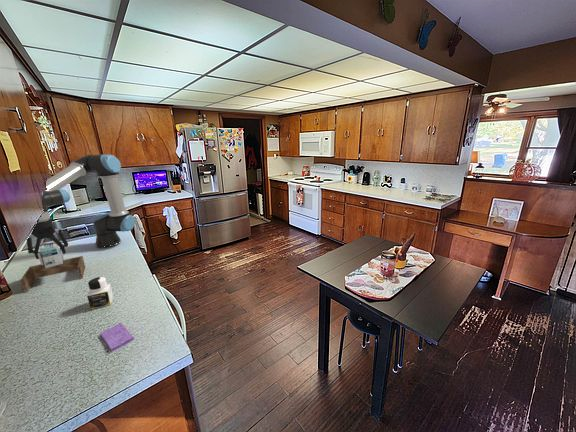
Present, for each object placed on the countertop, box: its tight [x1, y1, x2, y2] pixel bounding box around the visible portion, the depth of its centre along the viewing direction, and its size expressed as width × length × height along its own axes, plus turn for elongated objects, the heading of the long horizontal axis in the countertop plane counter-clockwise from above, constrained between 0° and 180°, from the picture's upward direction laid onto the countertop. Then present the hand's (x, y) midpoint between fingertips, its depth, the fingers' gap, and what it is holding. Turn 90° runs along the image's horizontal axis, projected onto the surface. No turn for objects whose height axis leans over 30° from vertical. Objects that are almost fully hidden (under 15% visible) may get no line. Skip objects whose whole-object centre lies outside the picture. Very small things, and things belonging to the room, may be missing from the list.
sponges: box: [99, 322, 135, 353], centre depth 86 cm, size 7×13×2 cm, turn 52°
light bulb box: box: [38, 240, 63, 268], centre depth 123 cm, size 11×7×11 cm, turn 47°
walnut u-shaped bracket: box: [20, 255, 86, 293], centre depth 126 cm, size 22×17×7 cm
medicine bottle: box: [86, 276, 114, 310], centre depth 104 cm, size 7×7×12 cm
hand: (53, 261), depth 124 cm, fingers closed on light bulb box, 7 cm apart
